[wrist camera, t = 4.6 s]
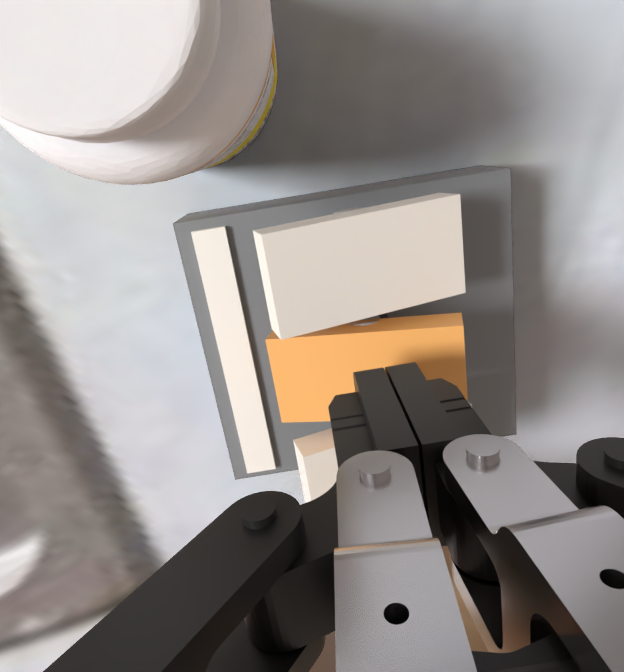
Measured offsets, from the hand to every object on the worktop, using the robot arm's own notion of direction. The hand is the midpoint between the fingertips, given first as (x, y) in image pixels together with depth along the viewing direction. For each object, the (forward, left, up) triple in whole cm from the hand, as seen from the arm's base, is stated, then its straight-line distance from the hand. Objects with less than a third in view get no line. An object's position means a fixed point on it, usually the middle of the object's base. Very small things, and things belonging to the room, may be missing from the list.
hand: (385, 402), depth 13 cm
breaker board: (0, 0, -7) cm, 7 cm away
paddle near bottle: (-3, 0, -2) cm, 4 cm away
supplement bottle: (-9, -4, -7) cm, 12 cm away
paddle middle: (0, 0, -2) cm, 2 cm away
